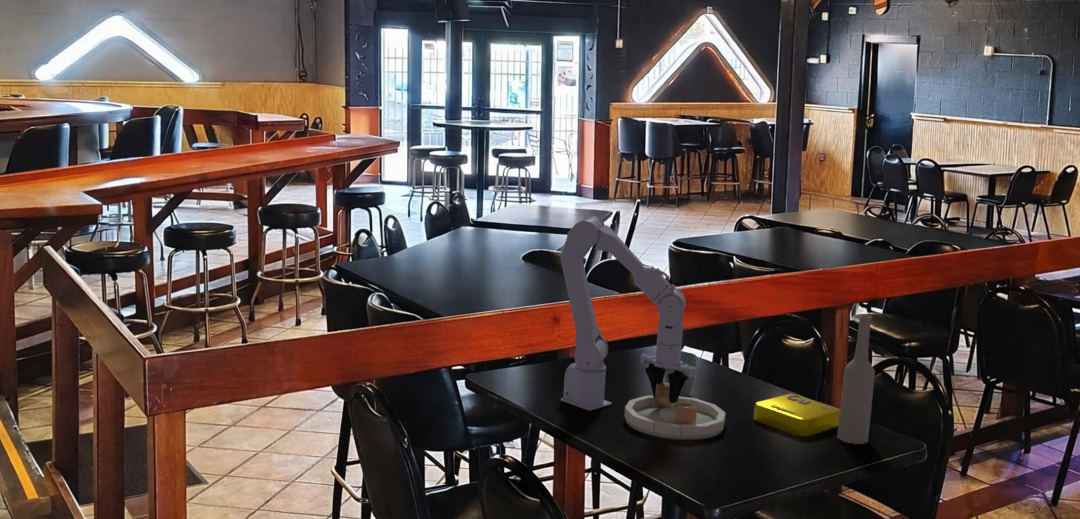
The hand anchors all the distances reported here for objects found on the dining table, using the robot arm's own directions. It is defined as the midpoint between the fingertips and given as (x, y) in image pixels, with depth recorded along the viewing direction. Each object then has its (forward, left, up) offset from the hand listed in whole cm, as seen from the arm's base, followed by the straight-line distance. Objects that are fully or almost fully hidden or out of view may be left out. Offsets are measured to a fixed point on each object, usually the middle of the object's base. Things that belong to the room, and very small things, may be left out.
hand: (665, 399), depth 242 cm
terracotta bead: (+11, -6, -2) cm, 13 cm away
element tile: (+22, +21, -4) cm, 31 cm away
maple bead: (0, 0, -2) cm, 2 cm away
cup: (-7, +15, -4) cm, 17 cm away
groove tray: (+6, -3, -3) cm, 7 cm away
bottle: (+37, +21, -4) cm, 42 cm away
